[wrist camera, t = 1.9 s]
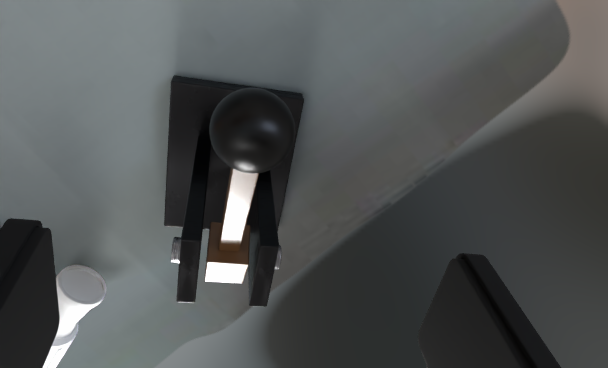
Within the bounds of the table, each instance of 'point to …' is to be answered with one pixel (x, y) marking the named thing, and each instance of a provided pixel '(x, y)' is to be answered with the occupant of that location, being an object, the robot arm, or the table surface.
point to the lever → (244, 171)
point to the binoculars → (74, 305)
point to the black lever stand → (218, 187)
